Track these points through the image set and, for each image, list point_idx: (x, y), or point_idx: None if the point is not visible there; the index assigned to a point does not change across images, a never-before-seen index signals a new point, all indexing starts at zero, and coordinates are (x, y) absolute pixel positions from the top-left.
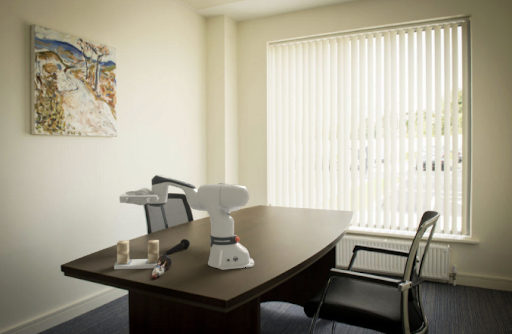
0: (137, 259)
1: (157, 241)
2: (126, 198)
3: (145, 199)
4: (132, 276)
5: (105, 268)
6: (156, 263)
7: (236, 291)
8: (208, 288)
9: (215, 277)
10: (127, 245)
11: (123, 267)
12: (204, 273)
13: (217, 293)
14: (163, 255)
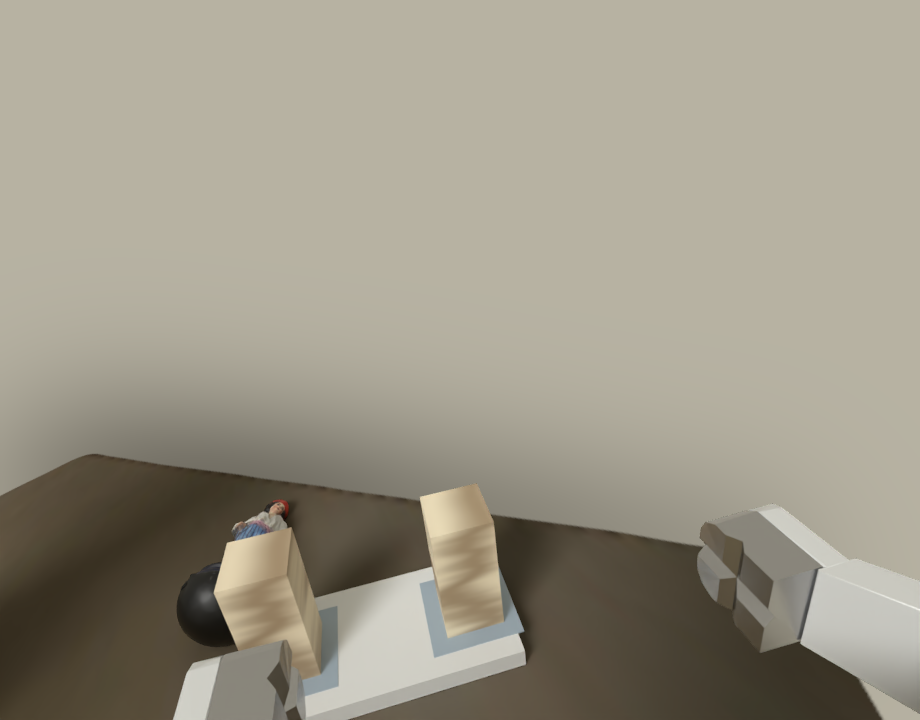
0: (407, 680)
1: (226, 558)
2: (885, 571)
3: (249, 649)
4: (369, 517)
5: (539, 566)
6: None
7: (22, 492)
8: (100, 492)
9: (19, 573)
10: (424, 520)
11: None
12: (42, 605)
13: (89, 473)
14: (214, 571)
